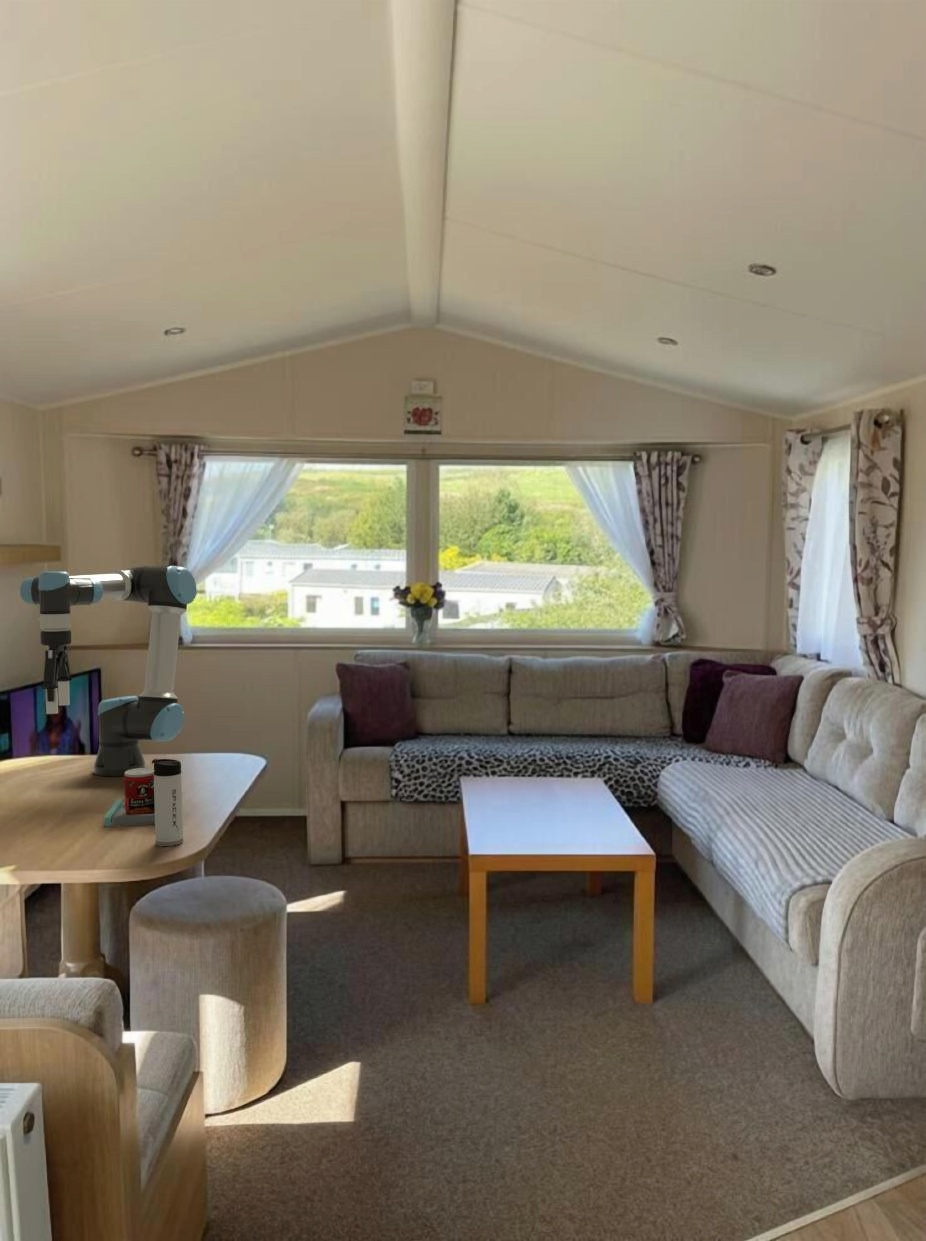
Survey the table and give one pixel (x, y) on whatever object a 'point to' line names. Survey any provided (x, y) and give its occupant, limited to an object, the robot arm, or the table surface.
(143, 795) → the canned food
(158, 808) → the travel mug
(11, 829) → the table surface
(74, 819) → the table surface
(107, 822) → the tray with upright backboard
